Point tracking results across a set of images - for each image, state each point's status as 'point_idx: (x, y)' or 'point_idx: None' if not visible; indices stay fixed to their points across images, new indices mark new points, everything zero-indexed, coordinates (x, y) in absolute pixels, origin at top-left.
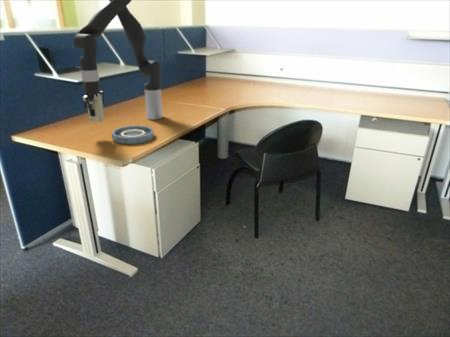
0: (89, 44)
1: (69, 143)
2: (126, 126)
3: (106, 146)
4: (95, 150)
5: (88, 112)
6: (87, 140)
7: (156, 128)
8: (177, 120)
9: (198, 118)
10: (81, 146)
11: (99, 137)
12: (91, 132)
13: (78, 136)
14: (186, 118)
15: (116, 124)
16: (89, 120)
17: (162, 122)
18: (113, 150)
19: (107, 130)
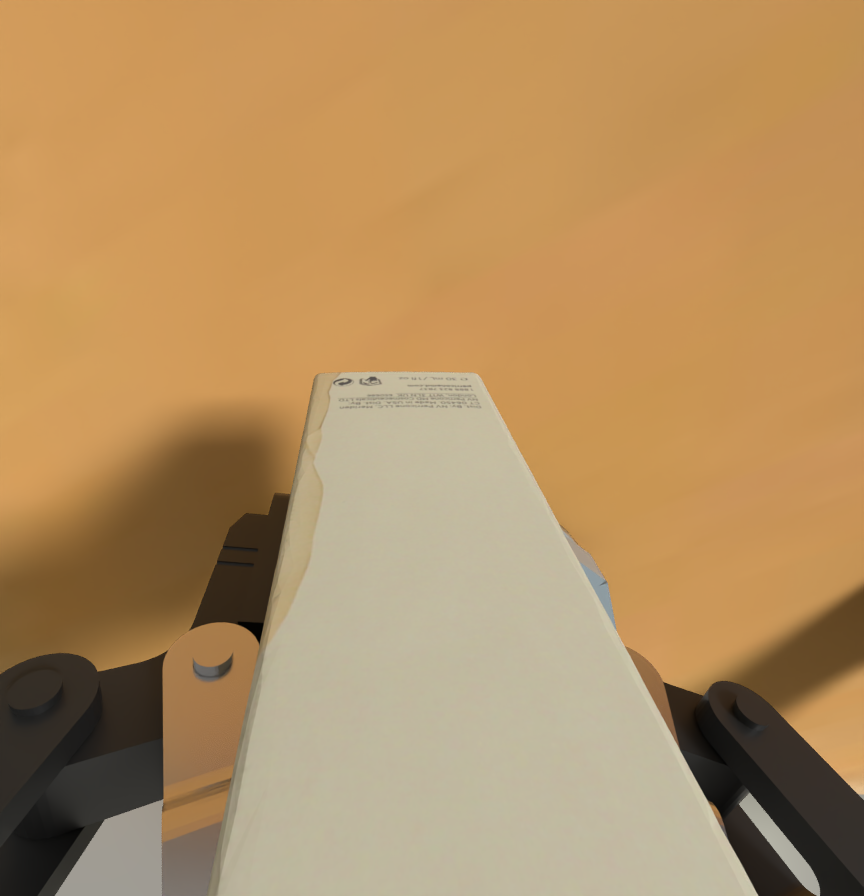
0: None
1: (28, 72)
2: (586, 575)
3: (154, 543)
4: (8, 509)
5: (294, 479)
6: (242, 279)
7: (659, 665)
8: (829, 701)
9: (839, 765)
10: (23, 317)
11: (380, 365)
12: (555, 166)
13: (359, 45)
14: (860, 724)
15: (848, 335)
16: (314, 384)
17: (805, 649)
18: (95, 625)
19: (631, 336)
